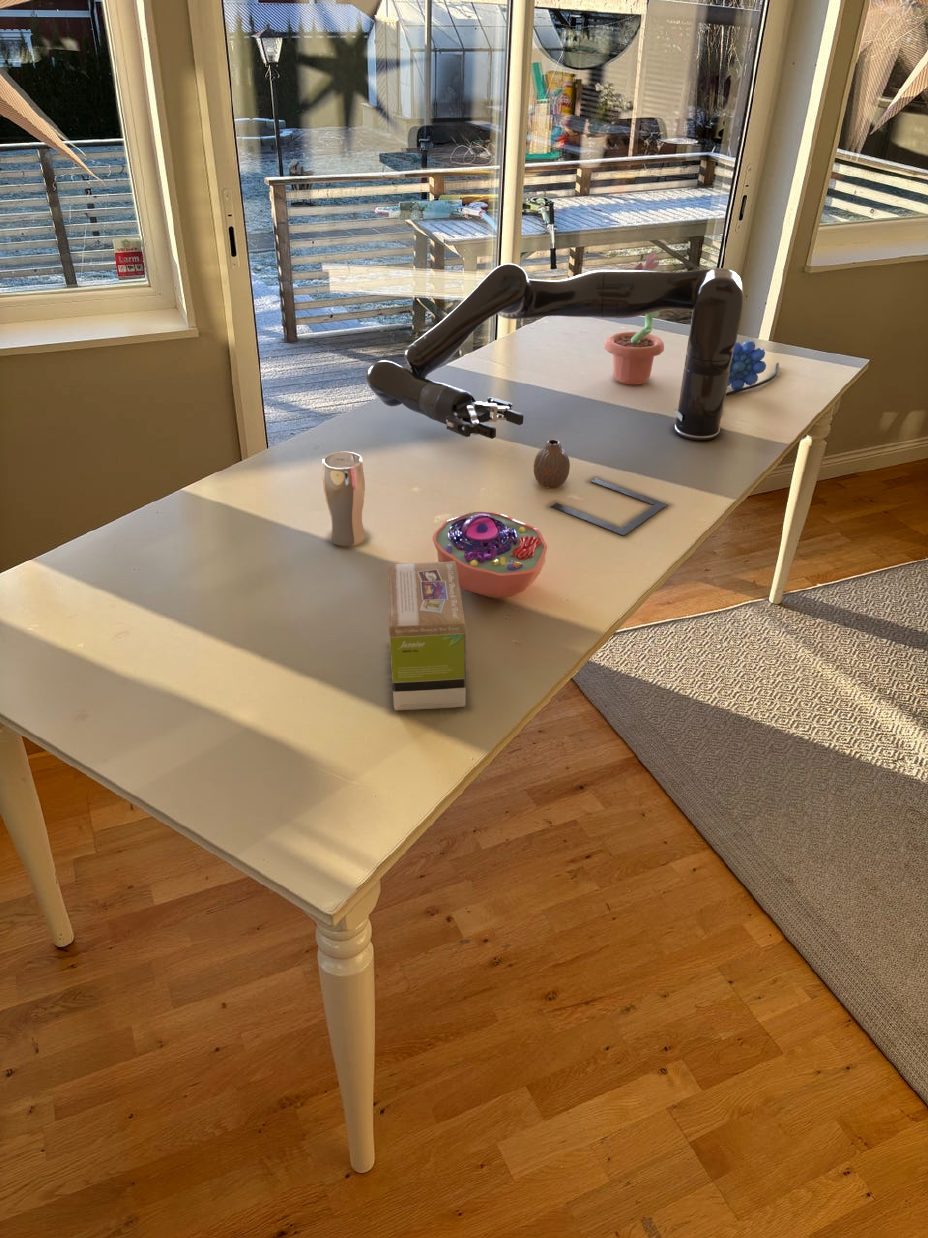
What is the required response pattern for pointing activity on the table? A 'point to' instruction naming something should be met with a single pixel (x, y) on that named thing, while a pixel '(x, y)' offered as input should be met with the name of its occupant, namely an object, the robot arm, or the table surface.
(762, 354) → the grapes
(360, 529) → the beer glass
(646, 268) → the decorative flower
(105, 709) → the table surface
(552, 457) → the vase
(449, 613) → the tea box
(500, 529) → the cell model
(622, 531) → the tape u shape
